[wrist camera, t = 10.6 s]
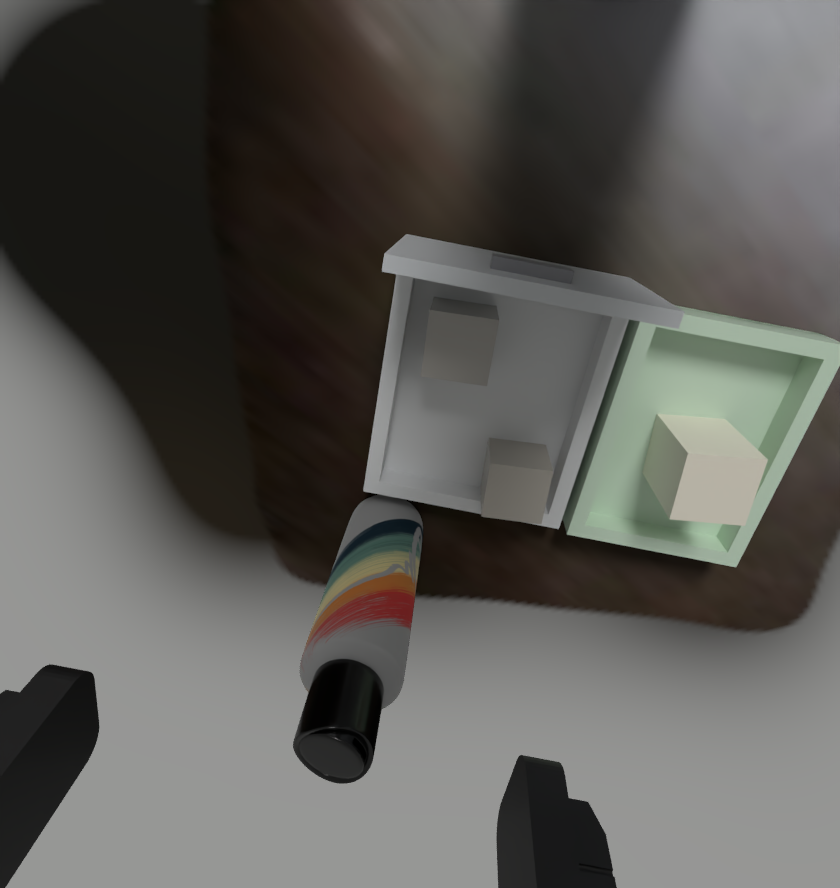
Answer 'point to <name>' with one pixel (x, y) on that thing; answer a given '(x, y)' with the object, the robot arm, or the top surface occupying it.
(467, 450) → the grey bin
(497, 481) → the pale grey block
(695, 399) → the green bin
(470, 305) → the grey cubic sharp-edged block
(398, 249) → the grey drawer face panel
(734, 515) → the beige block
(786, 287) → the top surface
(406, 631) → the lotion bottle
